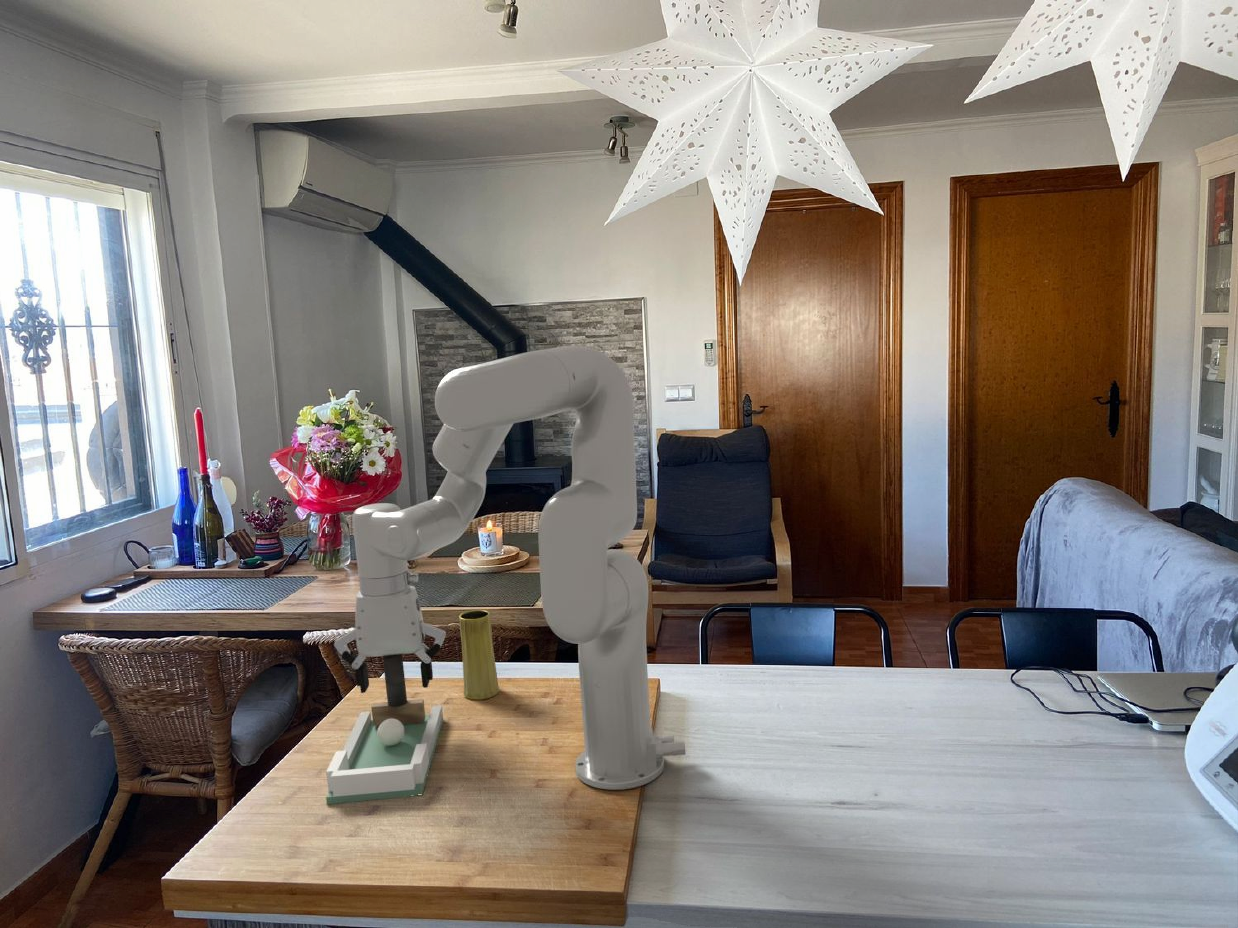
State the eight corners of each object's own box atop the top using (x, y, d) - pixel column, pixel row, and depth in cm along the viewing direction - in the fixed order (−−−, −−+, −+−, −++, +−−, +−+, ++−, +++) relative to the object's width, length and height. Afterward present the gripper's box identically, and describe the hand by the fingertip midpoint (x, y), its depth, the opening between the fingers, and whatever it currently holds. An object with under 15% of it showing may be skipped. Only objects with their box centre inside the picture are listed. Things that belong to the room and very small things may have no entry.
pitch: (443, 719, 152) (440, 696, 151) (422, 795, 128) (419, 768, 128) (362, 726, 151) (359, 703, 151) (326, 803, 128) (323, 776, 127)
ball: (407, 737, 144) (404, 712, 143) (403, 749, 140) (400, 724, 140) (381, 739, 144) (378, 715, 143) (376, 751, 140) (373, 726, 139)
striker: (426, 715, 151) (419, 649, 149) (423, 723, 148) (416, 656, 146) (376, 719, 150) (368, 653, 148) (372, 727, 147) (364, 660, 145)
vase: (506, 691, 162) (499, 612, 159) (478, 703, 157) (471, 622, 155) (484, 683, 166) (477, 606, 163) (456, 694, 161) (449, 616, 159)
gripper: (443, 572, 149) (453, 673, 152) (333, 580, 148) (345, 682, 151) (437, 585, 142) (447, 691, 145) (322, 594, 141) (335, 701, 144)
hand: (395, 686), depth 148 cm, fingers open, 9 cm apart
